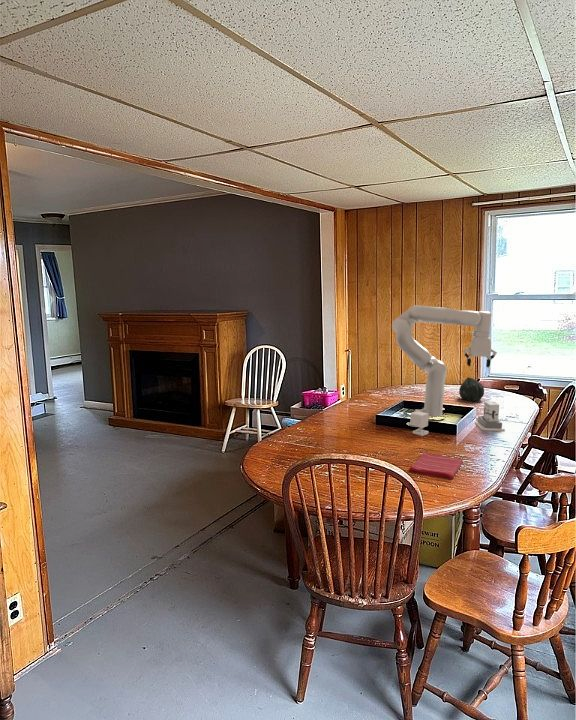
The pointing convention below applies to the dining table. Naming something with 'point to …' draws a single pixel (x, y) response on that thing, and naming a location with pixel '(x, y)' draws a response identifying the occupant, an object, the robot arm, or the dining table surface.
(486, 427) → the dock board
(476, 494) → the dining table surface
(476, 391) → the squash
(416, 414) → the security camera
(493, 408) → the ink box
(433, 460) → the dish towel
